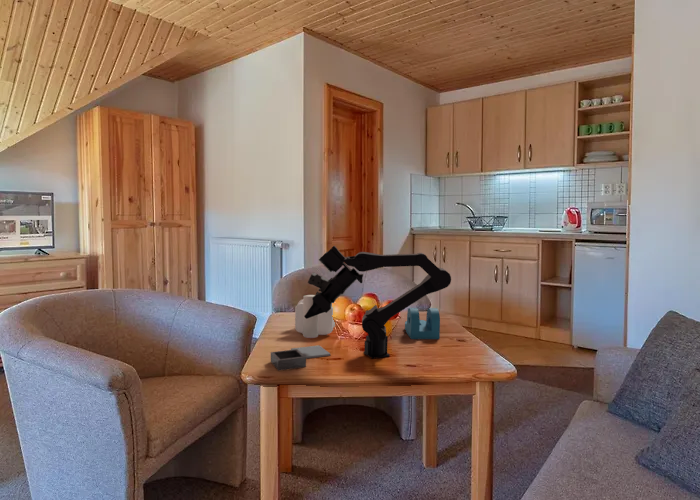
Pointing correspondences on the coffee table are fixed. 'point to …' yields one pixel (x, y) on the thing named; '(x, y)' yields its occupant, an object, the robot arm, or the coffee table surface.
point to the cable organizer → (324, 320)
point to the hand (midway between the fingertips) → (306, 315)
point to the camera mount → (423, 324)
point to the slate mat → (313, 351)
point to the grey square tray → (288, 359)
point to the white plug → (309, 319)
